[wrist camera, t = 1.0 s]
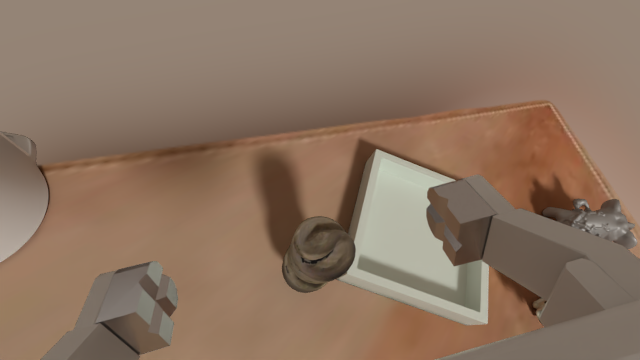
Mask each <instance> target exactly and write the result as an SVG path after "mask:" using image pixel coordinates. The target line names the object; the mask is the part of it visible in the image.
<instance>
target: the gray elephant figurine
mask: <svg viewBox="0 0 640 360" xmlns="http://www.w3.org/2000/svg"><path fill="white" fill-rule="evenodd" d="M573 205H574V207H575V209H573V210H572V211H571V210H565V209H560V208H553V207H548V208H546V209H544V210H543V212H542V214H543V215H544V216H545V217H553V218H556V220H557V222H560V223H562V224H565V225H568V226H571V227H573V228H576V229H579V230H582V231H584V232H587V233H590V234H593V235H595V236H598V237H601V238H603V239H606V240H609V241H613V242H614V243H617V244H620V245H623V246H624V247H625V248H626V249H631V248H633V247H635V246H636V244H637V240H636V238H635V237H634V235H633V233H632V232H630V231H629V230H631V229H632V228H633V227H634V226H635V224H632V223H629V222H628V221H627V219H626V216H625V215H623V214H622V213H621V206H620V202H619V200H617V199H612V200H608V201H606V202H604V203H603V204H602V206H601V209H600V210H596V211H591V210H590V208H589V205H588V203H587V201H586V200H585V199H575V200H574V201H573ZM582 205H585V207H586V209H585V210H584V211H583V210H582V209H579V208H580V206H582Z"/></svg>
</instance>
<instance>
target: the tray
mask: <svg viewBox="0 0 640 360" xmlns="http://www.w3.org/2000/svg"><path fill="white" fill-rule="evenodd" d="M452 181H456V180H454V179H451V178H449V177H446V176H444V175H441V174H438V173H436V172H433V171H431V170H428V169H426V168H423V167H421V166H418V165H416V164H413V163H411V162H408V161H406V160H403V159H400V158H398V157H395V156H393V155H390V154H388V153H385V152H383V151H380V150H378V149H376V150H375V151H374V153H373V154H372V155H371V156H370V158H369V159H368V160H367V162H366V164H365V168H364V172H363V176H362V180H361V184H360V188H359V192H358V196H357V200H356V204H355V208H354V212H353V216H352V220H351V224H350V228H349V232H348V234H349V235H350V236H351V238H352V239H353V241H354V243H355V247H356V253H355V258H354V261H353V264H352V265H351V267H350V268H349V270H348V271H347V272H346V273H345V274H344V275H342V276H340V277H339V278H337V280H339V281H342V282H345V283H348V284H351V285H353V286H356V287H359V288H362V289H365V290H368V291H370V292H373V293H376V294H379V295H382V296H385V297H387V298H390V299H393V300H396V301H399V302H402V303H404V304H407V305H410V306H413V307H416V308H419V309H422V310H424V311H427V312H430V313H433V314H436V315H439V316H441V317H444V318H447V319H450V320H453V321H456V322H458V323H461V324H464V325H478V324H488V276H489V265H488V264H486V263H484V262H483V261H482V260H478V261H474V262H470V263H466V264H462V265H458V266H453V264H452V263H451V261H450V260H449V258H448V257H447V255H446V254H445V252H444V251H443V249H442V248H443V241H441V240H439V239H437V238H435V237H434V235H433V233H432V232H431V230H430V228H429V225H428V221H427V217H426V208H427V207H428V206H429V205H430V201H429V200H428V199H427V191H428V189H429V188H430V187H434V186H438V185H441V184H445V183H449V182H452Z"/></svg>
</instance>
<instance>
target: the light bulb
mask: <svg viewBox="0 0 640 360" xmlns="http://www.w3.org/2000/svg"><path fill="white" fill-rule="evenodd" d="M355 253H356V247H355V243H354V241H353V239H352V238H351V236H350V235H349V234H348V233H346V232H345V230H344V229H343V227H342V226H341V225H340V224H339V223H337V222H336V221H334V220H333V219H330V218H328V217H322V216H317V217H311V218H308V219H306V220H305V221H303V222H302V223H301V224H300V225H299V226H298V228H297V230H296V231H295V234H294V236H293V238H292V242H291V245H290V247H289V249H288V250H287V252H286V254H285V256H284V259H283V264H282V272H283V276H284V279H285V281H286V282H287V284H288V285H289V286H290V287H291V288H292V289H294V290H296V291H298V292H304V293H308V292H313V291H316V290H318V289H320V288H322V287H323V286H325V285H326V284H327V282H329V281H332V280H334V279H336V278H339V277H340V276H342V275H344V274H345V273H346V272H347V271H348V270H349V268H350V267H351V265H352V264H353V261H354V258H355Z"/></svg>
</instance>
